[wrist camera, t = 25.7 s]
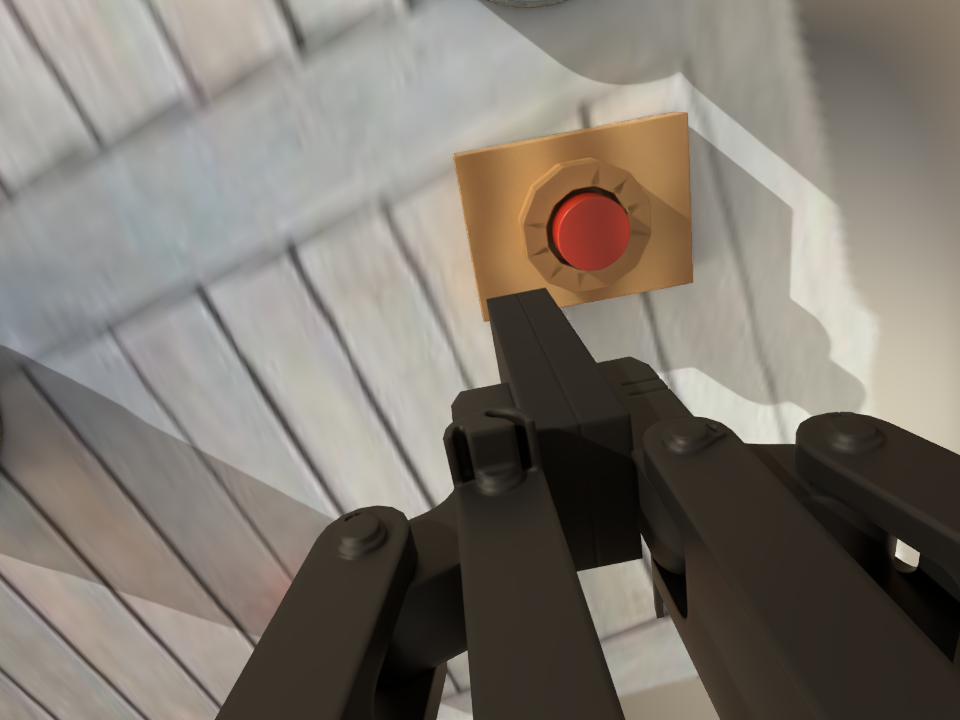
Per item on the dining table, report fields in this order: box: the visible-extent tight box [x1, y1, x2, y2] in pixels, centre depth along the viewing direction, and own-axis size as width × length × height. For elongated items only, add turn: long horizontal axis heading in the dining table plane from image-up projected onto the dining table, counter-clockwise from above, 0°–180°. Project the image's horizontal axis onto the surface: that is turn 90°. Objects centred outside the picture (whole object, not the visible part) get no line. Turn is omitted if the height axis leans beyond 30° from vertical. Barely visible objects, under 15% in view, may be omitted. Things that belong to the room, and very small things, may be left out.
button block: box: [453, 112, 693, 322], centre depth 32 cm, size 12×9×4 cm
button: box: [552, 192, 630, 271], centre depth 29 cm, size 4×4×2 cm
